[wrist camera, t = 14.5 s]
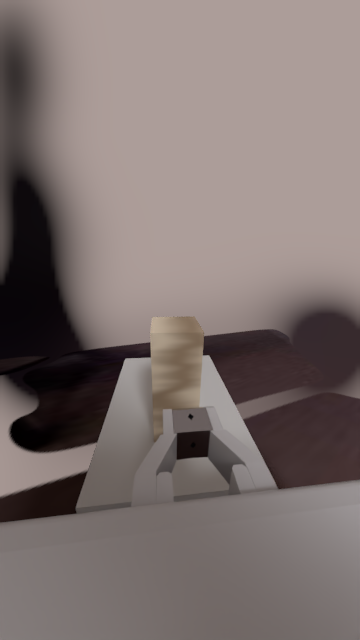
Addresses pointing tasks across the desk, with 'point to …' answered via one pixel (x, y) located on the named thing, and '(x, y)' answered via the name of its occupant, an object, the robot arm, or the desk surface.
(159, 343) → the maple block
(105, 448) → the rubber mat
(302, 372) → the desk surface
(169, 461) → the robot arm
